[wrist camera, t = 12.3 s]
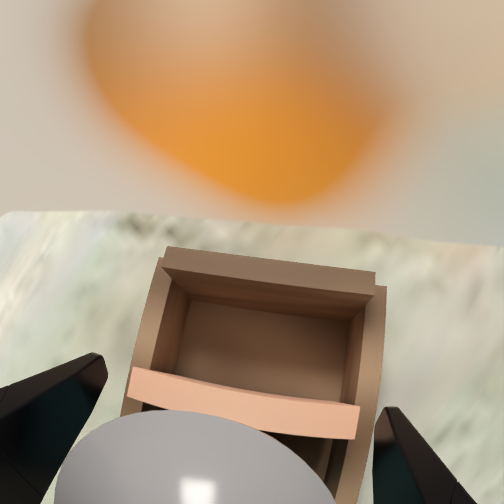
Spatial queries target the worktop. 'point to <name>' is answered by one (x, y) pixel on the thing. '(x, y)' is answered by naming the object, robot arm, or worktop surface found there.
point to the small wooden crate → (271, 342)
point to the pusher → (246, 405)
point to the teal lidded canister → (185, 464)
